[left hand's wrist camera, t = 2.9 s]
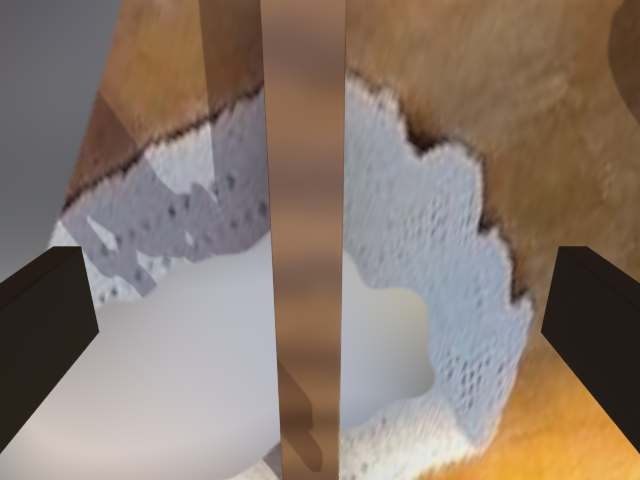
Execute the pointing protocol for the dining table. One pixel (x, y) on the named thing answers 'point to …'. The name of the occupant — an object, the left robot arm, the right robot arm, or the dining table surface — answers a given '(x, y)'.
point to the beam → (306, 223)
